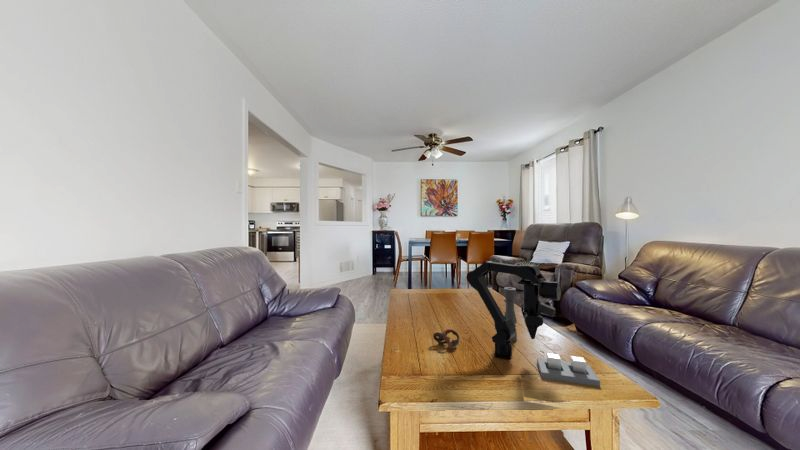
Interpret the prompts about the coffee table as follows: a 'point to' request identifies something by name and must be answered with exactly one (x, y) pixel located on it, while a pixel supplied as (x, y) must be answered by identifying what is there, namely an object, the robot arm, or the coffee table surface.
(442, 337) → the brown looped piece
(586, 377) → the pallet
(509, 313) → the candle holder
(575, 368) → the block
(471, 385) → the coffee table surface
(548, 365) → the billet
